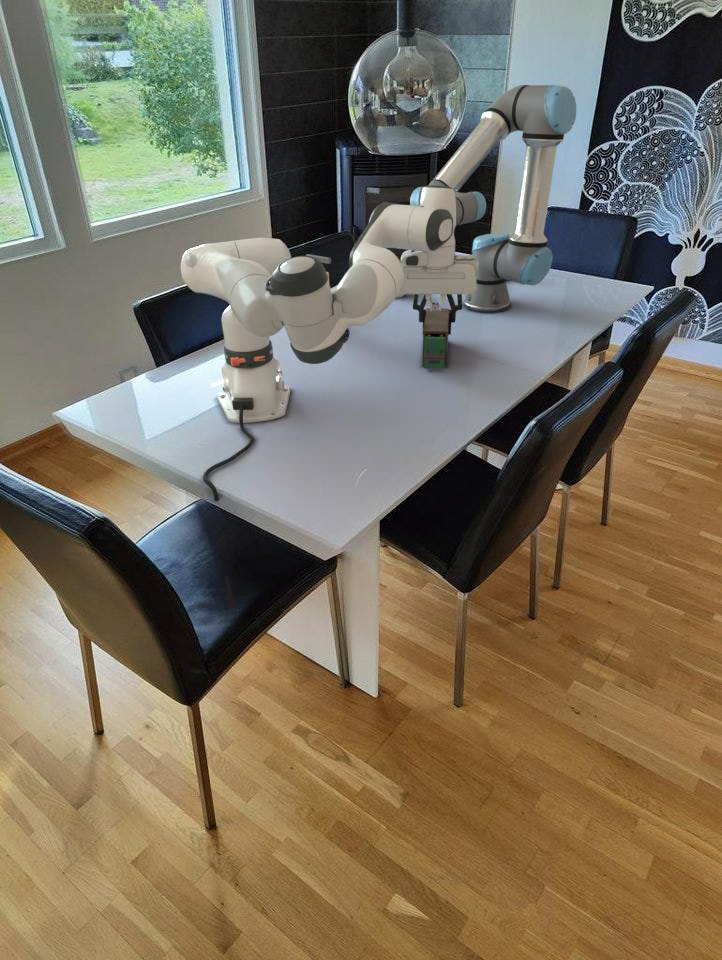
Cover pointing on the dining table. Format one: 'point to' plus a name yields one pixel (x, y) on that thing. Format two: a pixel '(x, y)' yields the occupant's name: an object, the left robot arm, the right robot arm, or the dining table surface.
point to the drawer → (434, 351)
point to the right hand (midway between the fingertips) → (436, 332)
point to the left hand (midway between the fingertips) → (435, 310)
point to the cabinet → (436, 327)
